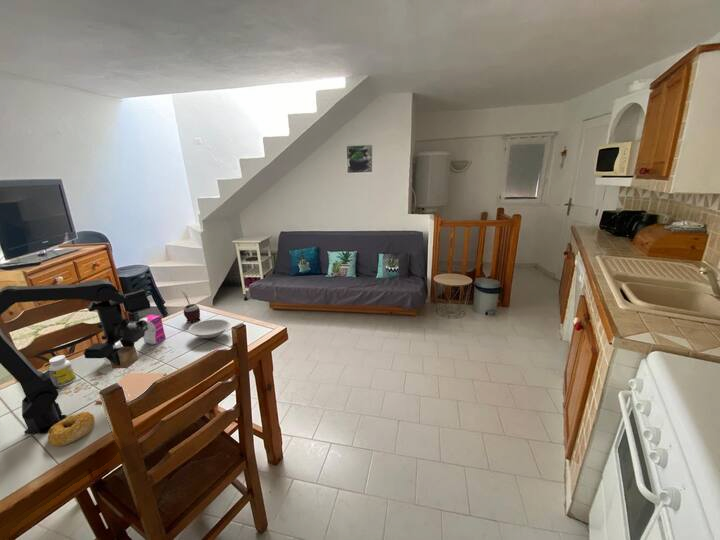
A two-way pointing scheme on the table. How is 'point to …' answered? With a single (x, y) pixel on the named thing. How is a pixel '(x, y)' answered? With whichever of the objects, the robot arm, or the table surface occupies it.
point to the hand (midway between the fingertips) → (124, 360)
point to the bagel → (71, 429)
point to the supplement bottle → (62, 370)
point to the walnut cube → (126, 357)
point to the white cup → (116, 347)
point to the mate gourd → (191, 311)
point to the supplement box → (153, 329)
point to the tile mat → (136, 383)
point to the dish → (209, 328)
